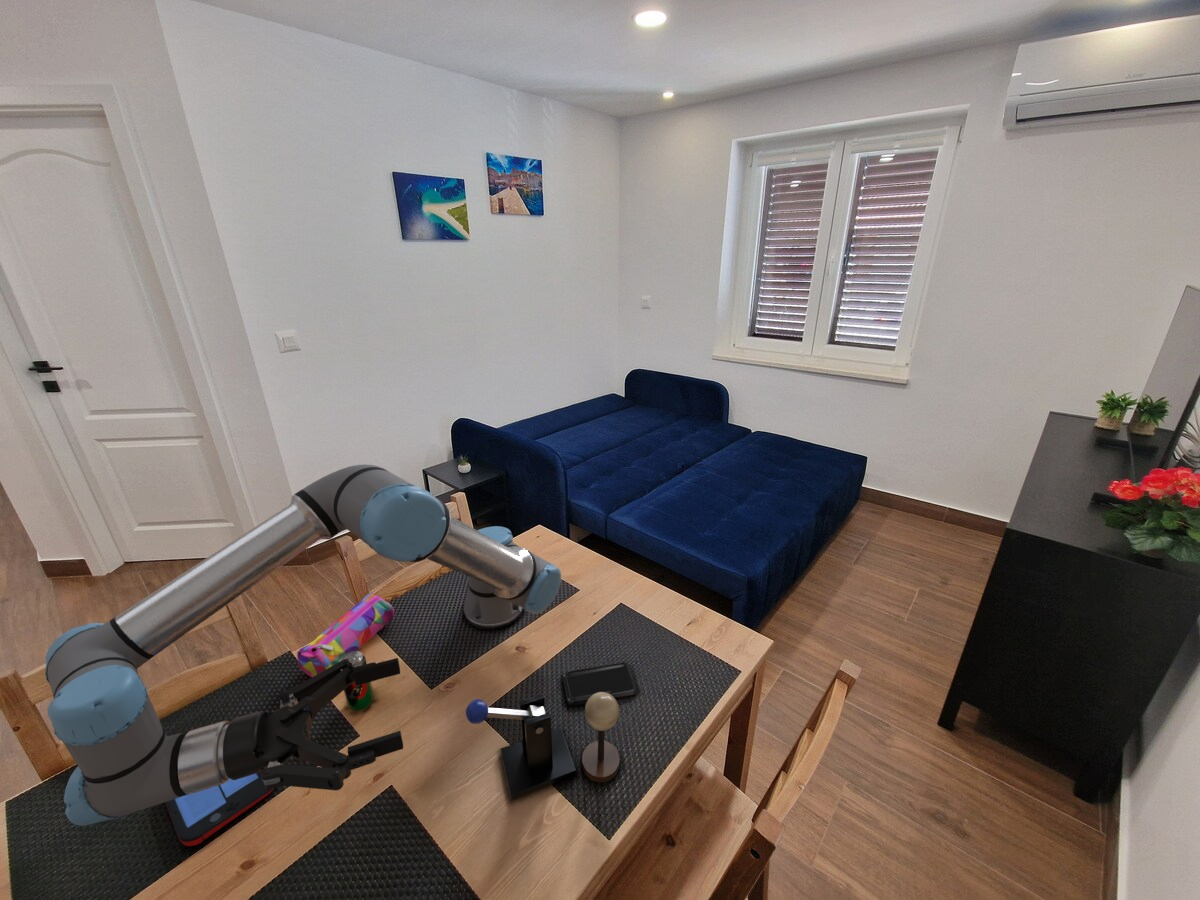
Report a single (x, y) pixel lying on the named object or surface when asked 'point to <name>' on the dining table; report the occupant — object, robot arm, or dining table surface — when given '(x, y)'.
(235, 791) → the game console
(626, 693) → the phone
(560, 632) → the dining table surface
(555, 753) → the switch bracket
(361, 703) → the soda can
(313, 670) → the pencil case
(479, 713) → the switch lever
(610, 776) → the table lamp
